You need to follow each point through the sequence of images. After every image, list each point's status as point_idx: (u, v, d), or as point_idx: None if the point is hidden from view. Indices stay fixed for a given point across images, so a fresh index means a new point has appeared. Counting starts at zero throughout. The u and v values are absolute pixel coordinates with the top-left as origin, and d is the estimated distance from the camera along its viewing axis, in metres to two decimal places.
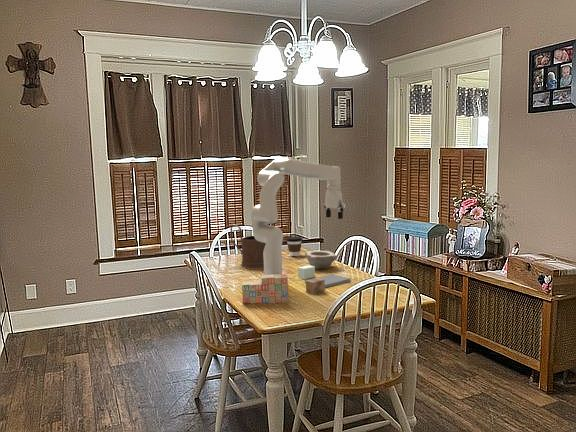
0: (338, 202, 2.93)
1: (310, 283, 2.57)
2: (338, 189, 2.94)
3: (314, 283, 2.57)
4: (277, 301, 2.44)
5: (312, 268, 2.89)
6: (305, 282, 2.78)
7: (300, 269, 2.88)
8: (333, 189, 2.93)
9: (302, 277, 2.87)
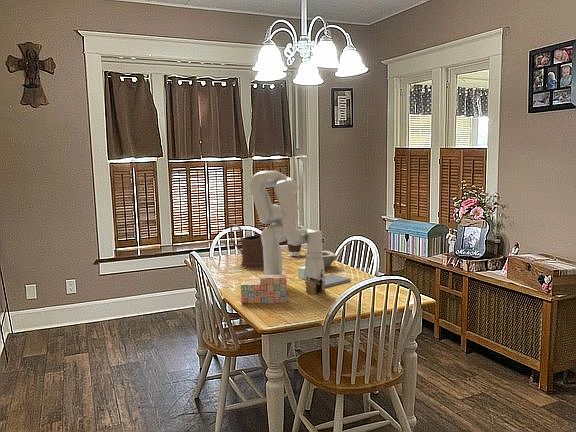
0: (319, 272, 2.55)
1: (310, 283, 2.57)
2: (319, 257, 2.56)
3: (314, 283, 2.57)
4: (276, 301, 2.43)
5: None
6: (305, 282, 2.78)
7: (300, 269, 2.88)
8: (314, 257, 2.55)
9: (302, 277, 2.87)
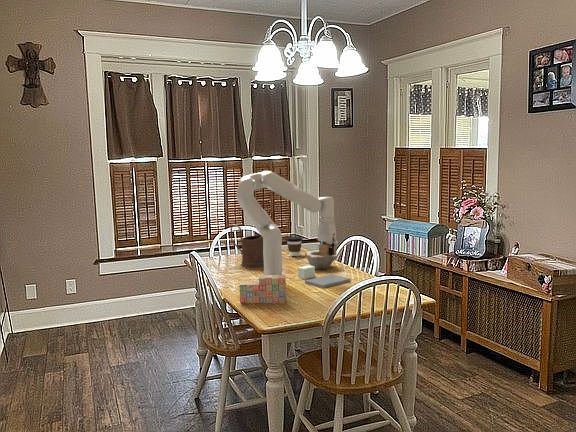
0: (331, 236, 2.71)
1: (323, 246, 2.73)
2: (331, 222, 2.72)
3: (326, 246, 2.73)
4: (274, 302, 2.43)
5: (312, 268, 2.89)
6: (305, 282, 2.78)
7: (300, 269, 2.88)
8: (326, 222, 2.71)
9: (302, 277, 2.87)
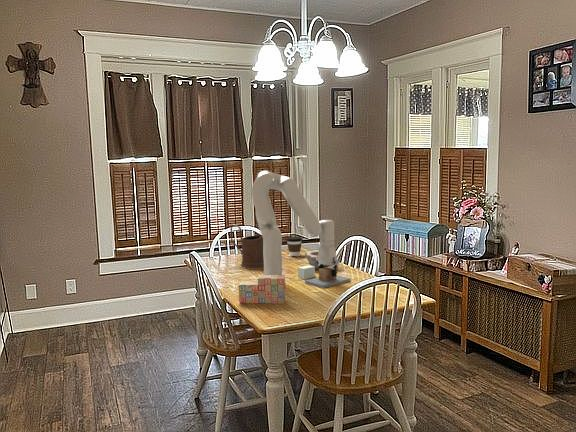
0: (331, 259, 2.72)
1: (323, 271, 2.75)
2: (332, 245, 2.73)
3: (327, 271, 2.74)
4: (273, 302, 2.43)
5: (312, 268, 2.89)
6: (305, 282, 2.78)
7: (300, 269, 2.88)
8: (326, 245, 2.73)
9: (302, 277, 2.87)
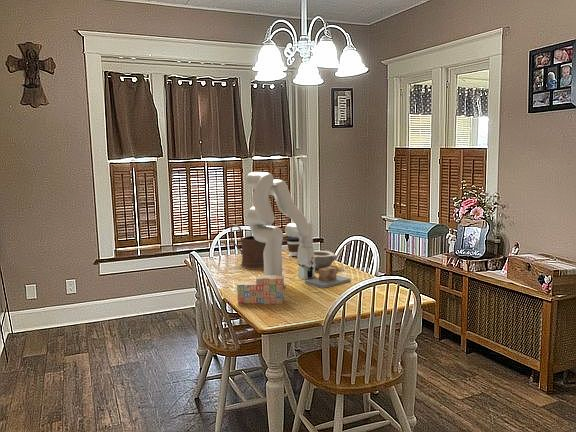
0: (310, 259, 2.84)
1: (323, 271, 2.75)
2: (310, 246, 2.85)
3: (327, 271, 2.74)
4: (272, 302, 2.42)
5: None
6: (305, 282, 2.78)
7: (300, 269, 2.88)
8: (305, 246, 2.85)
9: (302, 277, 2.87)
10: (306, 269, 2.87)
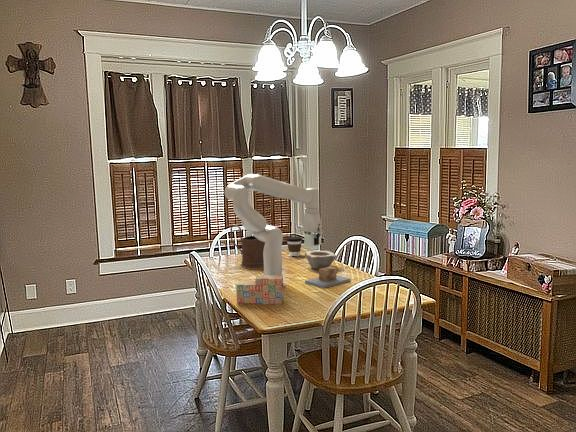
0: (316, 226, 2.78)
1: (323, 271, 2.75)
2: (316, 212, 2.79)
3: (327, 271, 2.74)
4: (271, 302, 2.42)
5: None
6: (305, 282, 2.78)
7: (306, 236, 2.82)
8: (311, 212, 2.78)
9: (308, 245, 2.81)
10: (313, 236, 2.81)
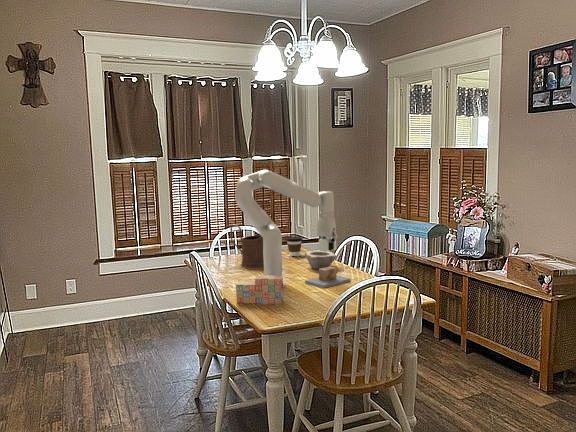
0: (331, 230, 2.70)
1: (323, 271, 2.75)
2: (331, 216, 2.71)
3: (327, 271, 2.74)
4: (270, 302, 2.42)
5: None
6: (305, 282, 2.78)
7: (321, 241, 2.74)
8: (326, 216, 2.71)
9: (323, 250, 2.73)
10: (327, 241, 2.73)
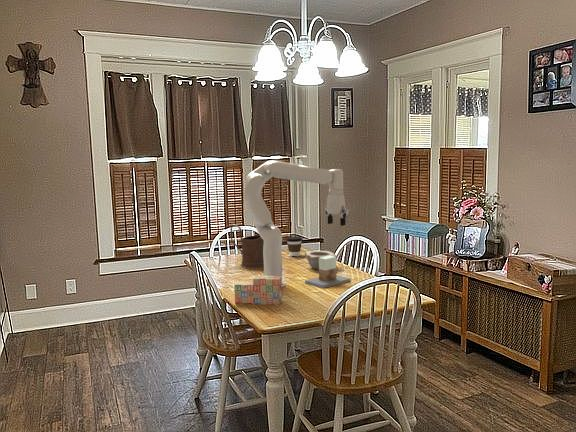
0: (340, 208, 2.73)
1: (323, 271, 2.75)
2: (340, 194, 2.74)
3: (327, 271, 2.74)
4: (268, 303, 2.42)
5: (333, 258, 2.77)
6: (305, 282, 2.78)
7: (321, 259, 2.75)
8: (335, 194, 2.73)
9: (323, 268, 2.75)
10: (327, 260, 2.74)
